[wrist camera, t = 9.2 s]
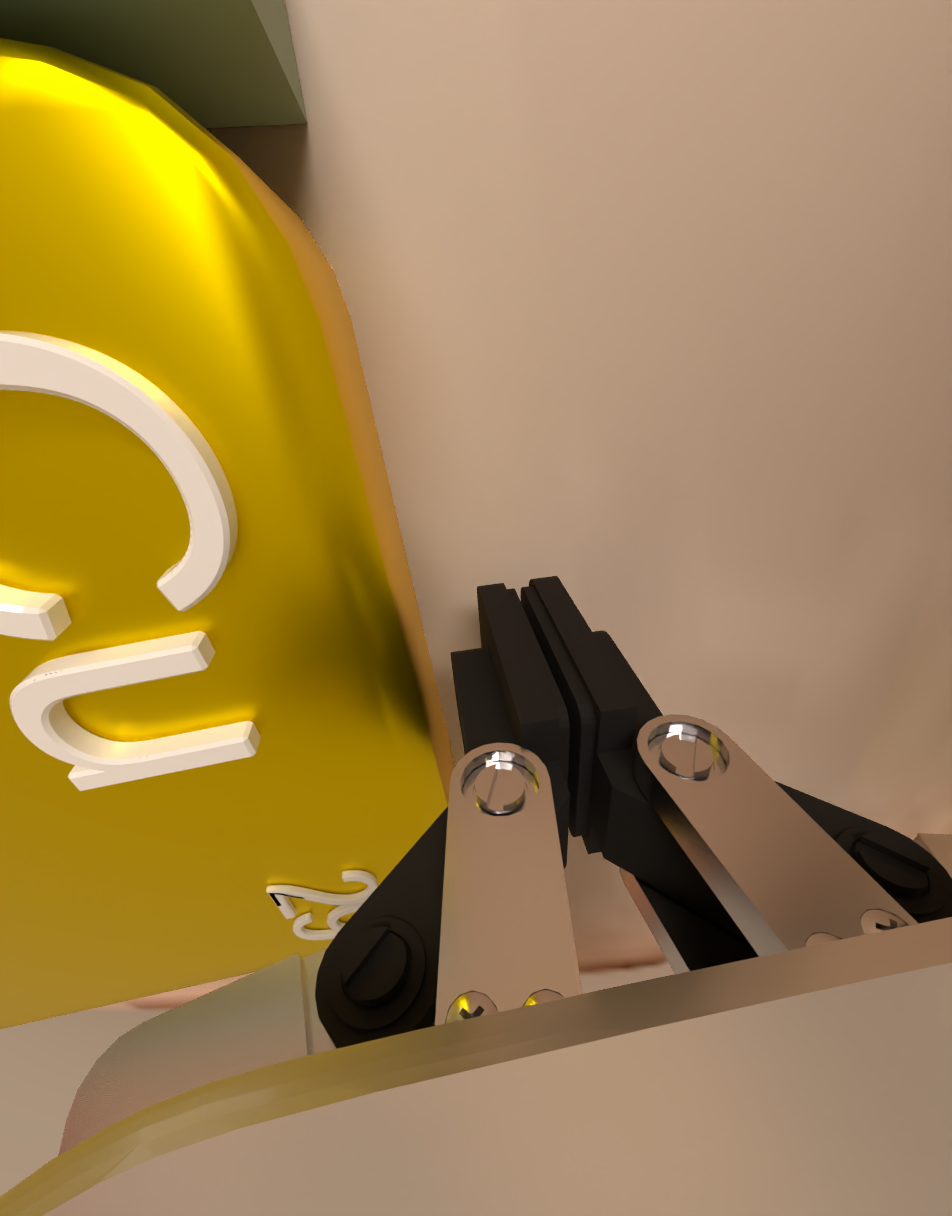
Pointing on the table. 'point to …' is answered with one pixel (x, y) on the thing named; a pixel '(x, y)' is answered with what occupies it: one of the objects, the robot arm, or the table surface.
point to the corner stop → (179, 51)
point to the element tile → (185, 565)
